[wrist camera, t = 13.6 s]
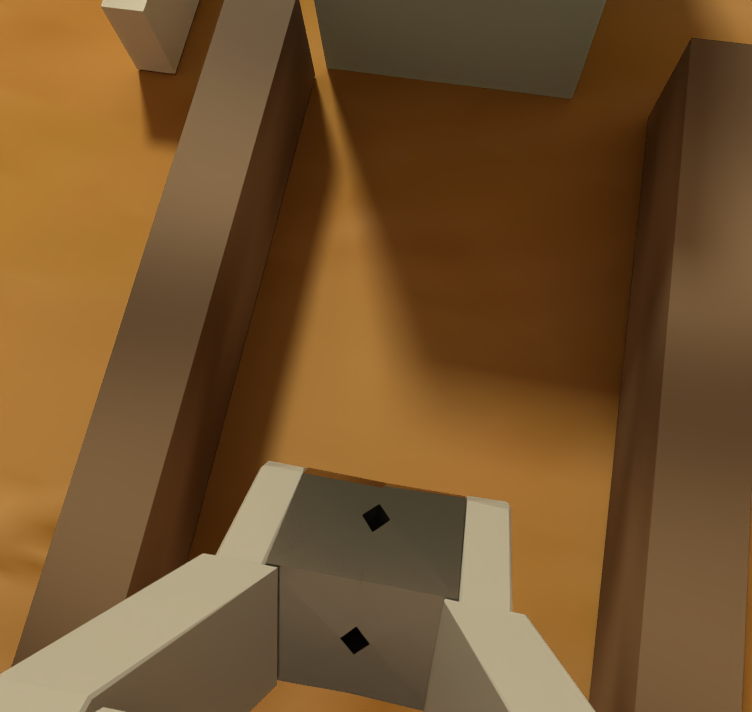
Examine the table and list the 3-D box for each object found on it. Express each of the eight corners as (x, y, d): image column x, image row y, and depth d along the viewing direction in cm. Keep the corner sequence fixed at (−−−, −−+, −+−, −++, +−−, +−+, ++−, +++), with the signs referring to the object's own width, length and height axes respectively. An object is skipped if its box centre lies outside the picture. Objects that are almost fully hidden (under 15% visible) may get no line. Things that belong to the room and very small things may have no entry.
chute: (657, 947, 11) (726, 1061, 8) (45, 786, 12) (-46, 845, 10) (715, 126, 15) (771, 46, 13) (256, 67, 16) (228, -16, 14)
